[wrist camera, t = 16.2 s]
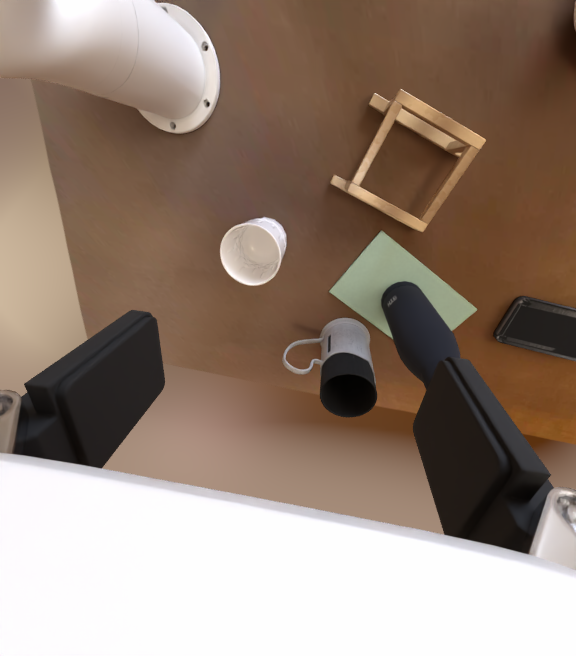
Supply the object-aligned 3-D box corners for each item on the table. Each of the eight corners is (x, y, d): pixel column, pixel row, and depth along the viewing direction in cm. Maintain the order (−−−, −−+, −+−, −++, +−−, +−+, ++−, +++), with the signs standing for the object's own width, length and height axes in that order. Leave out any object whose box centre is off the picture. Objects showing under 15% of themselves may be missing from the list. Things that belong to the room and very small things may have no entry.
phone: (522, 297, 44) (622, 322, 44) (518, 294, 45) (616, 318, 44) (493, 341, 48) (585, 364, 47) (490, 337, 49) (580, 360, 48)
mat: (329, 290, 49) (329, 291, 48) (381, 230, 43) (381, 230, 43) (418, 357, 52) (418, 358, 52) (476, 308, 47) (477, 309, 46)
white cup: (295, 219, 44) (286, 232, 35) (285, 269, 48) (274, 292, 39) (244, 207, 44) (222, 216, 36) (238, 258, 48) (217, 277, 39)
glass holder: (356, 366, 55) (363, 428, 42) (284, 340, 54) (269, 394, 41) (378, 328, 51) (394, 383, 38) (301, 299, 50) (289, 345, 37)
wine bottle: (419, 318, 48) (520, 494, 22) (378, 317, 49) (430, 485, 23) (426, 281, 45) (554, 433, 19) (383, 280, 46) (449, 425, 20)
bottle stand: (329, 183, 41) (329, 186, 33) (373, 94, 36) (384, 72, 28) (415, 229, 43) (434, 243, 35) (469, 150, 38) (506, 145, 29)
